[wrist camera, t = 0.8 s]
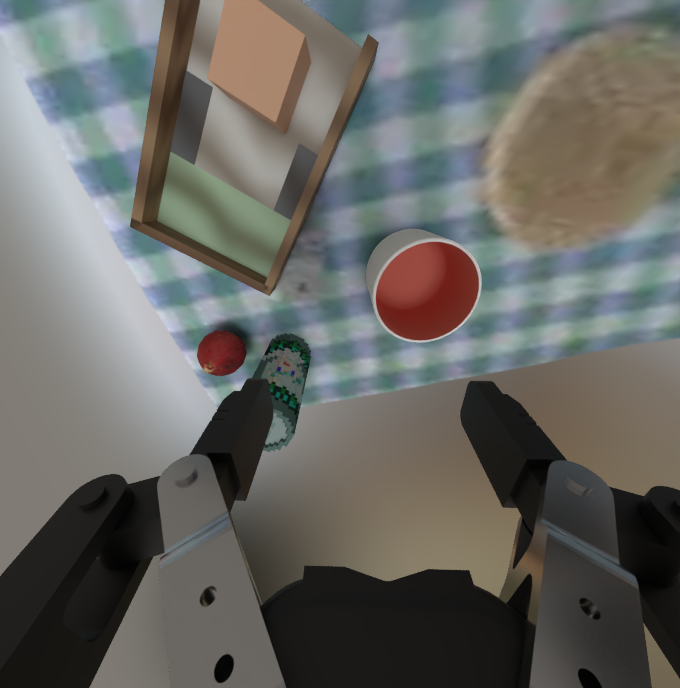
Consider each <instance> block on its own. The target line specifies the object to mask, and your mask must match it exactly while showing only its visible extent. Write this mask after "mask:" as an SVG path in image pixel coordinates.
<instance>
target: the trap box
mask: <svg viewBox="0 0 680 688" xmlns="http://www.w3.org/2000/svg"><path fill="white" fill-rule="evenodd" d="M224 1H225V0H165V4H164V11H163V17H162V24H161V30H160V37H159V43H158V50H157V56H156V63H155V69H154V76H153V82H152V89H151V95H150V101H149V108H148V114H147V121H146V127H145V134H144V140H143V147H142V153H141V160H140V166H139V173H138V179H137V186H136V192H135V199H134V205H133V211H132V218H131V224H130V227H132V228H134V229H136V230H138V231H140V232H142V233H144V234H146V235H148V236H150V237H152V238H154V239H156V240H158V241H160V242H162V243H164V244H166V245H168V246H170V247H172V248H174V249H176V250H178V251H180V252H182V253H184V254H186V255H188V256H190V257H192V258H194V259H196V260H198V261H200V262H202V263H204V264H206V265H208V266H210V267H212V268H214V269H216V270H218V271H220V272H222V273H224V274H226V275H228V276H230V277H232V278H234V279H236V280H238V281H240V282H242V283H244V284H246V285H248V286H250V287H252V288H254V289H256V290H258V291H260V292H262V293H264V294H266V295H269V296H270V294H271V293H272V292H273V291H274V289H275V287H276V285H277V283H278V281H279V278H280V276H281V274H282V271H283V269H284V267H285V265H286V262H287V260H288V258H289V255H290V253H291V251H292V249H293V246H294V244H295V242H296V239H297V237H298V235H299V232H300V230H301V228H302V226H303V223H304V221H305V219H306V216H307V214H308V212H309V210H310V207H311V205H312V203H313V200H314V198H315V196H316V194H317V191H318V189H319V187H320V184H321V182H322V180H323V177H324V175H325V173H326V171H327V168H328V166H329V164H330V161H331V159H332V157H333V155H334V152H335V150H336V148H337V145H338V143H339V141H340V139H341V136H342V134H343V132H344V129H345V127H346V125H347V122H348V120H349V118H350V116H351V113H352V111H353V109H354V106H355V104H356V102H357V100H358V97H359V95H360V93H361V90H362V88H363V86H364V84H365V81H366V79H367V77H368V74H369V72H370V70H371V67H372V65H373V63H374V61H375V57H376V52H377V48H378V43H379V42H377V41H376V40H375V39H374V38H372V37H371V36H370V35H369V34H368V36H367V38H366V41H365V43H364V46H363V48H361V47H360V46H359V45H358V44H356V43H355V42H354V41H352V40H351V39H350V38H348V37H347V36H346V35H345V34H343V33H342V32H341V31H339V30H338V29H337V28H335V27H334V26H333V25H332V24H330V23H329V22H328V21H326V20H325V19H324V18H323V17H321V16H320V15H319V14H317V13H316V12H315V11H313V10H312V9H311V8H310V7H308V6H307V5H306V4H304V3H303V2H302V1H301V0H258V1H260V2H261V3H262V4H264V5H265V6H266V7H268V8H269V9H271V10H272V11H273V12H275V13H276V14H277V15H279V16H280V17H281V18H283V19H284V20H285V21H287V22H288V23H289V24H291V25H292V26H293V27H295V28H296V29H297V30H299V31H300V32H301V33H303V34H304V35H305V37H306V41H307V45H308V50H309V54H310V58H311V65H310V68H309V71H308V73H307V76H306V79H305V82H304V85H303V87H302V90H301V93H300V96H299V99H298V101H297V104H296V107H295V110H294V113H293V115H292V118H291V121H290V124H289V127H288V130H287V132H286V134H284V133H283V132H281V131H280V130H278V129H277V128H275V127H273V126H272V125H270V124H269V123H267V122H266V121H264V120H263V119H261V118H259V117H258V116H256V115H255V114H253V113H252V112H250V111H249V110H247V109H245V108H244V107H242V106H241V105H239V104H238V103H236V102H235V101H233V100H232V99H230V98H228V97H227V96H226V95H225V94H224V93H223V92H222V91H221V90H220V89H218V88H217V87H216V86H215V85H214V84H213V83H212V82H211V81H210V80H208V79H207V76H208V72H209V67H210V63H211V59H212V54H213V50H214V45H215V41H216V36H217V32H218V28H219V23H220V19H221V14H222V10H223V5H224Z"/></svg>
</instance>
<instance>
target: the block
mask: <svg viewBox="0 0 680 688" xmlns="http://www.w3.org/2000/svg"><path fill="white" fill-rule="evenodd" d="M310 65H311V58H310V54H309V50H308V45H307V41H306V37H305V35H304V34H303V33H301V32H300V31H299V30H297V29H296V28H295V27H293V26H292V25H291V24H289V23H288V22H287V21H285V20H284V19H283V18H281V17H280V16H279V15H277V14H276V13H275V12H273V11H272V10H271V9H269V8H268V7H266V6H265V5H264V4H262V3H261V2H260V1H258V0H225V1H224V5H223V10H222V14H221V19H220V23H219V28H218V32H217V36H216V41H215V45H214V50H213V54H212V59H211V63H210V67H209V72H208V76H207V79H208V80H210V81H211V82H212V83H213V84H214V85H215V86H216V87H217V88H218V89H220V90H221V91H222V92H223V93H224V94H225V95H226V96H227V97H228V98H230V99H232V100H233V101H235V102H236V103H238V104H239V105H241V106H242V107H244V108H245V109H247V110H249V111H250V112H252V113H253V114H255V115H256V116H258V117H259V118H261V119H263V120H264V121H266V122H267V123H269V124H270V125H272V126H273V127H275V128H277V129H278V130H280V131H281V132H283V133H284V134H286V132H287V130H288V127H289V124H290V121H291V118H292V115H293V113H294V110H295V107H296V104H297V101H298V99H299V96H300V93H301V90H302V87H303V85H304V82H305V79H306V76H307V73H308V71H309V68H310Z"/></svg>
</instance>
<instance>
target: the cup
mask: <svg viewBox="0 0 680 688" xmlns="http://www.w3.org/2000/svg"><path fill="white" fill-rule="evenodd" d="M366 283H367V287H368V290H369V294H370V297H371V301H372V305H373V308H374V312H375V315H376V317H377V319H378V321H379V322H380V324H381V325H382V326H383V327H384V329H386V330H387V331H388V332H389V333H390V334H392V335H393V336H395V337H397V338H399V339H402V340H405V341H409V342H429V341H434V340H437V339H440V338H443V337H445V336H447V335H449V334H451V333H452V332H454V331H455V330H457V329H458V328H459V327H460V326H462V325H463V324H464V323H465V322H466V320H467V319H468V318H469V317H470V315H471V314H472V313H473V311H474V309H475V307H476V305H477V303H478V300H479V297H480V293H481V287H482V278H481V272H480V268H479V265H478V263H477V261H476V259H475V258H474V256H473V255H472V254H471V253H470V252H469V251H468V250H467V249H466V248H465V247H464V246H462V245H461V244H459V243H457V242H455V241H452V240H450V239H447V238H444V237H441V236H438V235H436V234H433V233H430V232H427V231H424V230H421V229H404V230H400V231H397V232H395V233H392V234H391V235H389V236H387V237H386V238H384V239H383V240H382V241H381V242H380V243H379V244H378V245H377V246H376V247H375V249H374V250H373V252H372V254H371V256H370V258H369V260H368V263H367V268H366Z"/></svg>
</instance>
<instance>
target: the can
mask: <svg viewBox="0 0 680 688" xmlns="http://www.w3.org/2000/svg"><path fill="white" fill-rule="evenodd" d="M310 352H311V351H310V350H309V347H308V344H306V343H304V339H302V338H299V337H297V336H295V335H293V334H291V335H290V336H289V335H287V334H284V336H283V335H281V336H277V337H276V339H275V340H274V339H272V341H271V343H270V345H269V347H268V349H267V350H266V352H265V354H264V356H263V358H262V360H261V362H260V364H259V366H258V368H257V370H256V372H255V374H254V375H253V377H252V378H254V379H268V381H269V386H270V392H271V398H272V403H273V421H272V424H271V427H270V430H269V433H268V436H267V439H266V442H265V445H264V448H263V450H265V451H268V452H270V450H273V451H275V450H276V449H279V450H280V449H281V447H282V446H283V445H284V446H287V445H288V443H289V442H290V440H291V438H292V437H293V435H294V433H295V428H296V424H297V419H298V414H299V410H300V405H301V401H302V396H303V391H304V387H305V382H306V377H307V372H308V368H309V363H310V358H311V356H310Z"/></svg>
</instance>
